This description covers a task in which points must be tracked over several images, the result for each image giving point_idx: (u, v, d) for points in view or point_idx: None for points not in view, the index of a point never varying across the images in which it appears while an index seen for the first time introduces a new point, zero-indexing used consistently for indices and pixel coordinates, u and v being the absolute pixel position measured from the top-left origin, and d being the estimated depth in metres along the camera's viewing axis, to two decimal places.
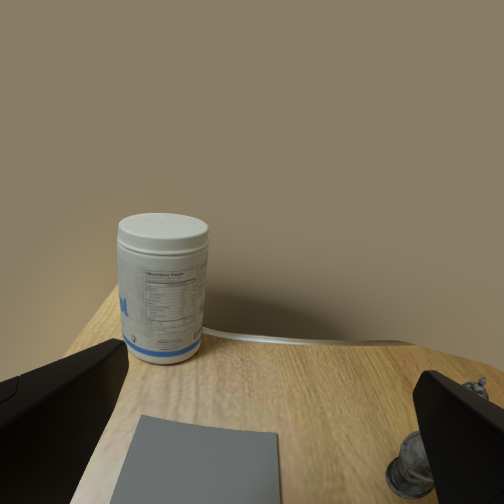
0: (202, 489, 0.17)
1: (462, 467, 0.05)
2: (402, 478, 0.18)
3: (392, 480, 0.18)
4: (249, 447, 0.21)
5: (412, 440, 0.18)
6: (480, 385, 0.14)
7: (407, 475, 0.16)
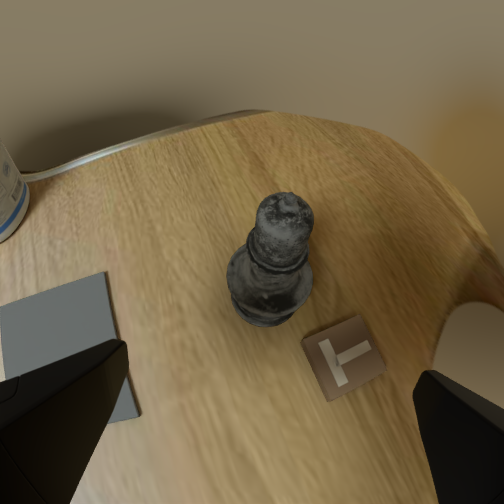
0: None
1: (462, 467, 0.05)
2: None
3: (238, 304, 0.23)
4: (82, 299, 0.22)
5: (241, 258, 0.21)
6: (288, 204, 0.14)
7: None
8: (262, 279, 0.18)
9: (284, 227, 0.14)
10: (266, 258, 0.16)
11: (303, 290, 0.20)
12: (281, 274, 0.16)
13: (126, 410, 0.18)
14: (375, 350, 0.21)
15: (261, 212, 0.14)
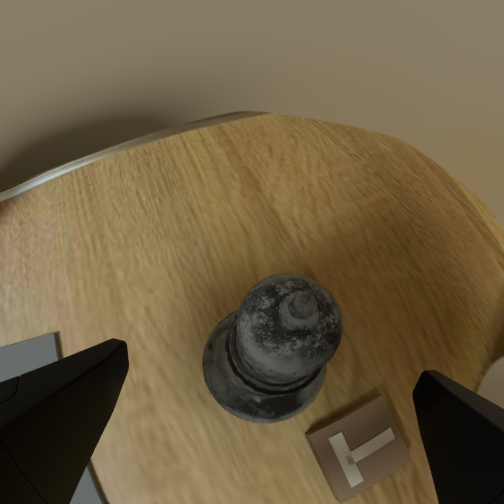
0: None
1: (462, 467, 0.05)
2: None
3: None
4: (31, 367, 0.15)
5: (223, 338, 0.14)
6: None
7: None
8: None
9: (288, 357, 0.07)
10: (256, 376, 0.09)
11: (312, 384, 0.13)
12: (281, 394, 0.09)
13: (91, 503, 0.11)
14: (399, 437, 0.14)
15: (245, 322, 0.07)
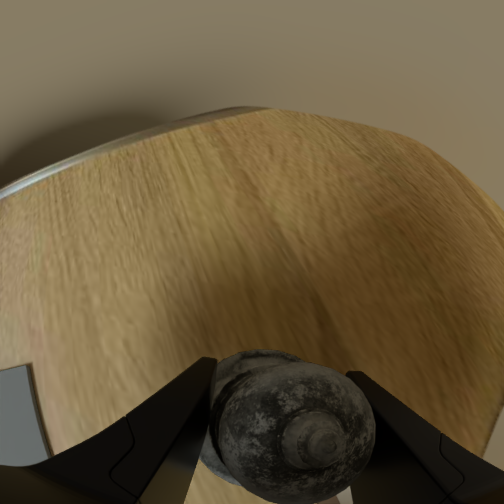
0: None
1: (375, 486, 0.05)
2: None
3: None
4: (5, 401, 0.12)
5: None
6: None
7: None
8: None
9: (295, 496, 0.04)
10: None
11: None
12: None
13: None
14: None
15: (229, 445, 0.04)
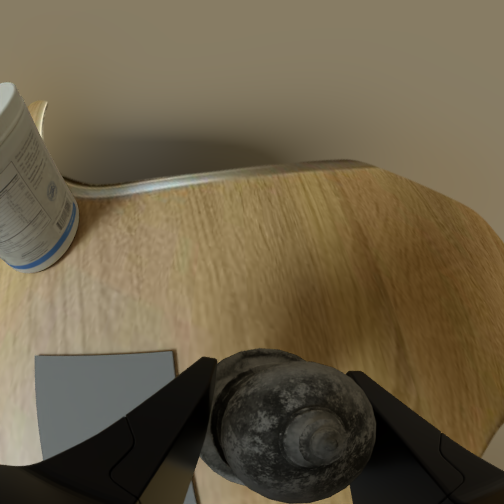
0: None
1: (375, 486, 0.05)
2: None
3: None
4: (143, 379, 0.19)
5: None
6: None
7: None
8: None
9: (296, 494, 0.04)
10: None
11: None
12: None
13: (184, 502, 0.15)
14: None
15: (231, 443, 0.04)
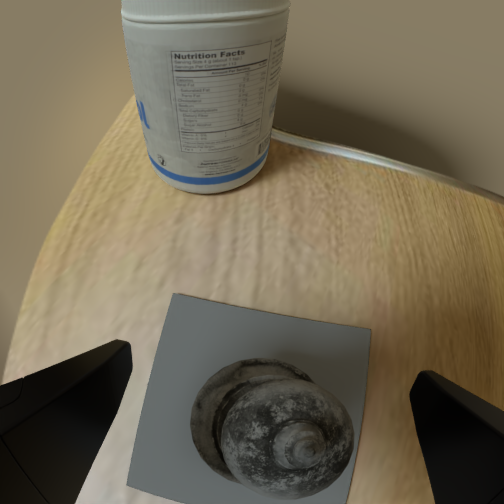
0: None
1: (459, 468, 0.05)
2: None
3: None
4: (332, 355, 0.16)
5: (213, 398, 0.11)
6: None
7: None
8: None
9: (283, 491, 0.04)
10: None
11: None
12: None
13: None
14: None
15: (229, 448, 0.05)
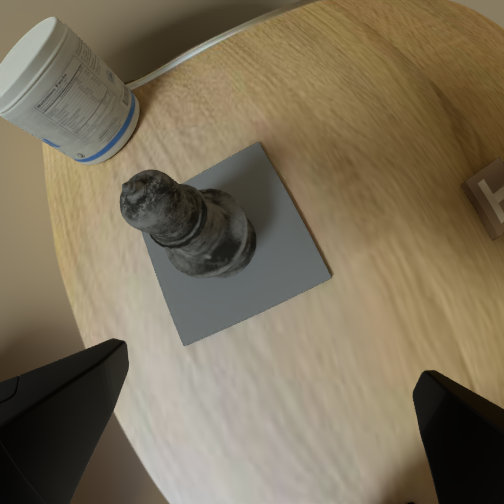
0: None
1: (462, 467, 0.05)
2: None
3: None
4: (242, 173, 0.23)
5: None
6: None
7: None
8: (190, 249, 0.17)
9: (145, 214, 0.12)
10: (168, 238, 0.15)
11: (239, 224, 0.19)
12: (192, 240, 0.15)
13: (317, 274, 0.21)
14: None
15: (123, 214, 0.13)
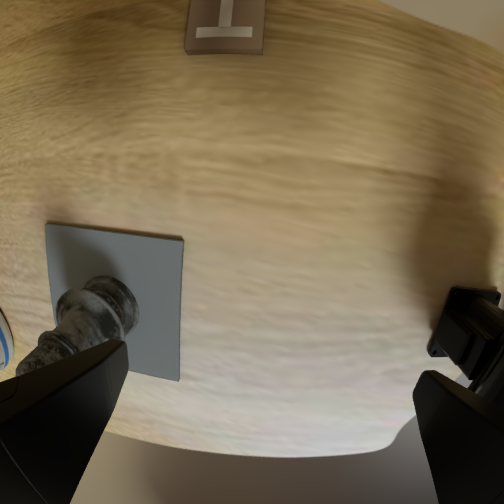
0: None
1: (462, 467, 0.05)
2: None
3: None
4: (63, 254, 0.21)
5: None
6: None
7: None
8: None
9: None
10: None
11: (92, 301, 0.18)
12: None
13: (173, 251, 0.20)
14: None
15: None
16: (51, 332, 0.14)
